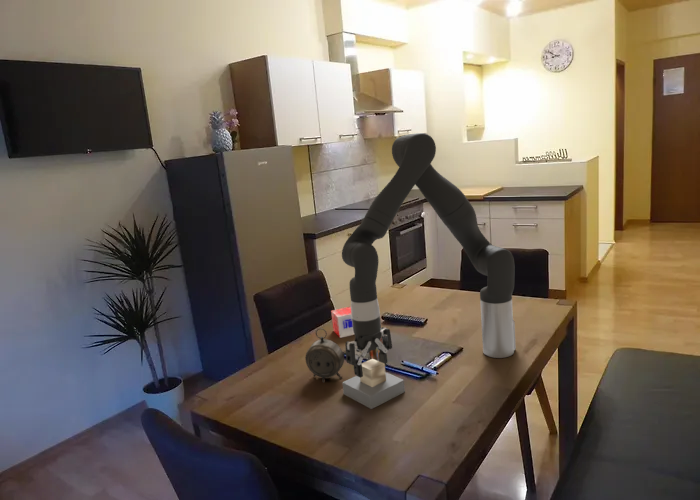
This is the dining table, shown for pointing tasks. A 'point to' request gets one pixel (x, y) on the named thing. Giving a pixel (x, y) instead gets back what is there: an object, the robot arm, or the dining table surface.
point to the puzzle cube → (342, 322)
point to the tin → (375, 352)
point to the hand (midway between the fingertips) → (371, 370)
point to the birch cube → (373, 372)
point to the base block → (373, 390)
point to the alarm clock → (324, 358)
